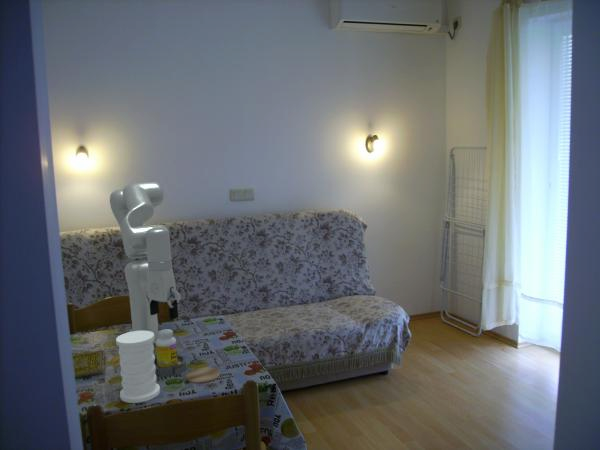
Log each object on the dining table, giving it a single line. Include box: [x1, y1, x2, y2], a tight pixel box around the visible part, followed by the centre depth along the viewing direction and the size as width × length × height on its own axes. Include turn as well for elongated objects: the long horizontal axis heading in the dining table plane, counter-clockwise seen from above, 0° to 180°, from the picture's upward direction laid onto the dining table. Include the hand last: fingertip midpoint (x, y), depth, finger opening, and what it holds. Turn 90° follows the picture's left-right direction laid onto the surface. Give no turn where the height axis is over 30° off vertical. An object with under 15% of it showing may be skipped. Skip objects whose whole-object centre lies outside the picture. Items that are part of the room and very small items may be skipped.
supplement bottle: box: [155, 328, 178, 368], centre depth 179 cm, size 7×7×13 cm
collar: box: [154, 353, 188, 377], centre depth 180 cm, size 12×12×3 cm
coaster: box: [185, 366, 221, 384], centre depth 173 cm, size 11×11×1 cm
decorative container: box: [115, 331, 161, 404], centre depth 160 cm, size 12×12×18 cm
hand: (164, 316), depth 178 cm, fingers open, 9 cm apart
